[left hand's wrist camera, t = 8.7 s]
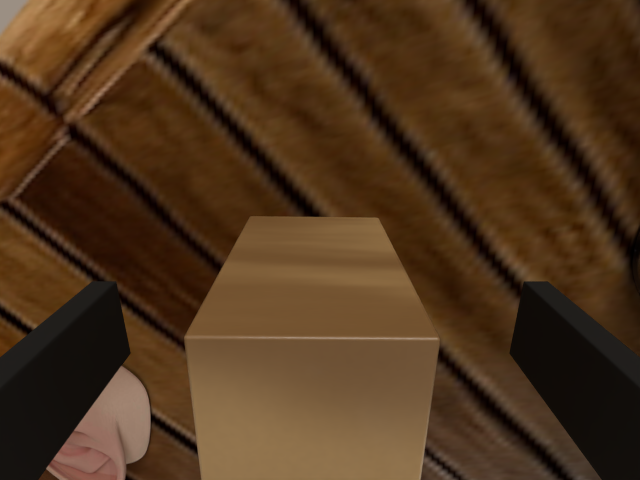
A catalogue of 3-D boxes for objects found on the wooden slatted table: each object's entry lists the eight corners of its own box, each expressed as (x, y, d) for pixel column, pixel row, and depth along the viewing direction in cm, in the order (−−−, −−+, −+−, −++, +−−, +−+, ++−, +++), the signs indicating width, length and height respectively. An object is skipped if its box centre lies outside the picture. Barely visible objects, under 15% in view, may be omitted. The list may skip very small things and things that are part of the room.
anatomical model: (-2, 363, 30) (149, 400, 31) (33, 333, 34) (167, 367, 35) (-9, 482, 34) (124, 510, 36) (23, 444, 38) (142, 470, 39)
